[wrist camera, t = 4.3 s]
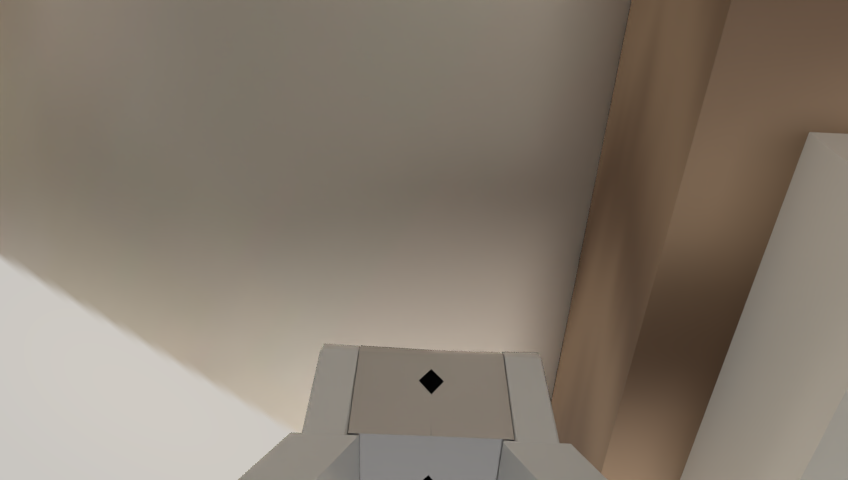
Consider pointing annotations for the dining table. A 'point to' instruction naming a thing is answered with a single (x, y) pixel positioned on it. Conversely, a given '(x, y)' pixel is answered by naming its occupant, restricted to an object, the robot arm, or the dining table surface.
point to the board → (687, 213)
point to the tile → (789, 342)
